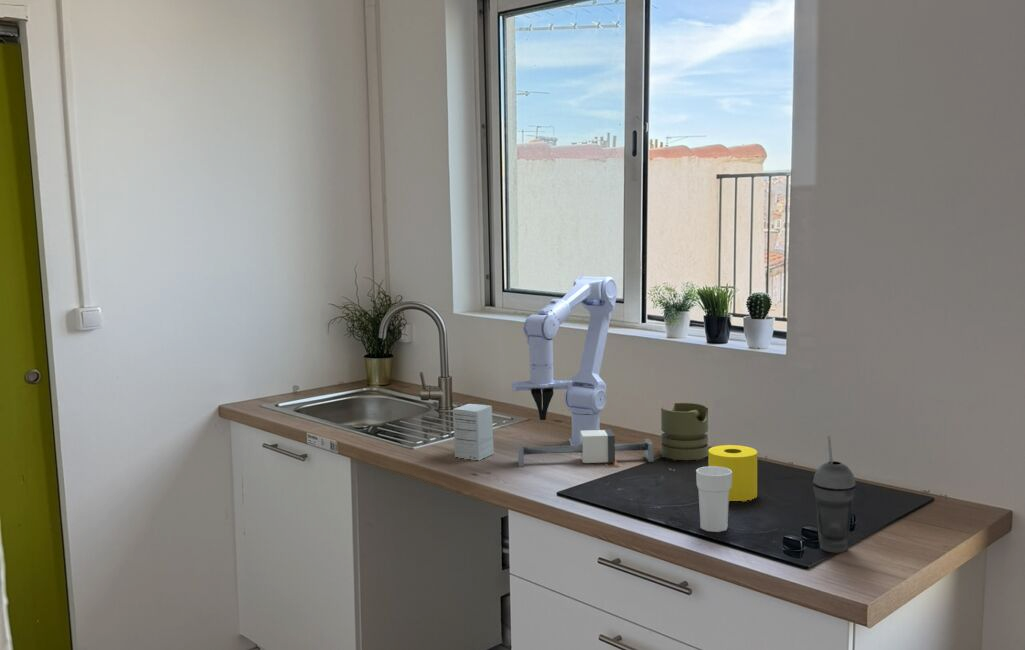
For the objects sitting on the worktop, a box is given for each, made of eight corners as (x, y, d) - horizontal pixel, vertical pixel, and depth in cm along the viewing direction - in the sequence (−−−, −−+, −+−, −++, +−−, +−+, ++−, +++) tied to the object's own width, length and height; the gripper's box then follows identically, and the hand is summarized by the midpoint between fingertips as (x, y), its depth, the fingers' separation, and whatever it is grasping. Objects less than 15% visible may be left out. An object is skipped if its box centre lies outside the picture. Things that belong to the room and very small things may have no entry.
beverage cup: (838, 558, 160) (840, 444, 157) (803, 547, 165) (804, 437, 163) (863, 548, 164) (865, 437, 161) (828, 537, 170) (829, 430, 167)
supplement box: (470, 451, 239) (468, 402, 238) (494, 454, 235) (493, 405, 234) (453, 458, 233) (451, 408, 231) (478, 461, 229) (476, 411, 228)
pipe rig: (519, 470, 220) (518, 451, 219) (517, 458, 231) (517, 440, 230) (655, 465, 221) (655, 446, 220) (647, 453, 232) (647, 435, 231)
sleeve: (583, 463, 223) (582, 436, 222) (580, 456, 229) (580, 430, 228) (608, 462, 223) (607, 435, 222) (604, 455, 229) (604, 429, 228)
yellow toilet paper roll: (707, 487, 203) (707, 444, 202) (755, 488, 201) (755, 445, 200) (709, 501, 193) (709, 456, 192) (759, 502, 191) (759, 457, 190)
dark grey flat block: (608, 462, 223) (608, 436, 222) (604, 455, 229) (604, 429, 229) (615, 462, 223) (614, 435, 222) (611, 455, 229) (610, 429, 229)
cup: (692, 522, 180) (692, 467, 179) (725, 520, 180) (726, 465, 179) (701, 534, 173) (701, 476, 172) (736, 532, 174) (736, 475, 173)
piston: (717, 406, 228) (690, 414, 220) (717, 454, 230) (691, 463, 222) (678, 400, 236) (651, 408, 228) (678, 447, 238) (652, 455, 230)
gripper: (511, 367, 221) (513, 423, 222) (572, 365, 221) (574, 421, 223) (510, 363, 228) (512, 417, 229) (570, 361, 228) (571, 415, 230)
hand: (542, 419), depth 226 cm, fingers closed
